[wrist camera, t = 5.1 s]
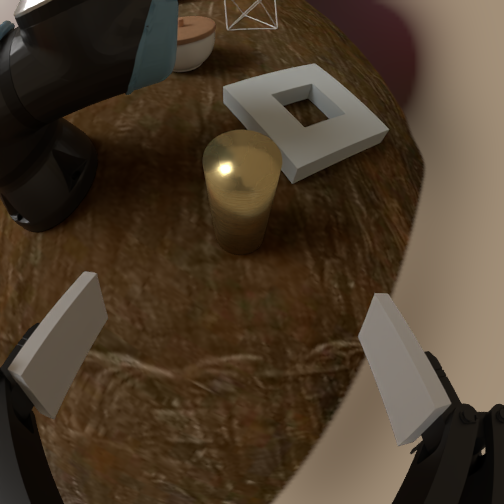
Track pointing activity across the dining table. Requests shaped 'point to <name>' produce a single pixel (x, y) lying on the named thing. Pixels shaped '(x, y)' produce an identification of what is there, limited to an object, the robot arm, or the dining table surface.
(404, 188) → the dining table surface
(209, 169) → the gold cylinder
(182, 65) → the lidded jar
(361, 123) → the frame
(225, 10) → the geometric polyhedron
